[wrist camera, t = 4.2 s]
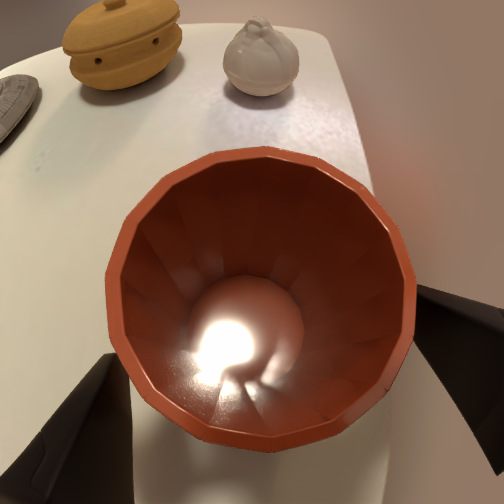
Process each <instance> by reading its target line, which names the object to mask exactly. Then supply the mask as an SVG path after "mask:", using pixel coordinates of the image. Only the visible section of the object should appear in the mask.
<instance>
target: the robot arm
mask: <svg viewBox="0 0 504 504" xmlns="http://www.w3.org/2000/svg"><path fill="white" fill-rule="evenodd" d="M413 341H414V342H415V344H416V346H417V347H418V349H419V350H420V352H421V353H422V355H423V356H424V357H425V359H426V360H427V362H428V363H429V365H430V366H431V368H432V369H433V371H434V372H435V374H436V375H437V377H438V378H439V380H440V381H441V383H442V384H443V385H444V387H445V388H446V390H447V392H448V393H449V395H450V396H451V398H452V400H453V401H454V403H455V404H456V406H457V407H458V409H459V411H460V412H461V414H462V416H463V417H464V419H465V421H466V422H467V424H468V425H469V427H470V429H471V431H472V432H473V433H474V436H475V438H476V439H477V441H478V443H479V445H480V446H481V448H482V450H483V452H484V454H485V456H486V457H487V459H488V461H489V463H490V465H491V467H492V469H493V471H494V472H495V474H496V475H497V476H498V475H499V474H501V473H502V472H503V471H504V309H501V308H497V307H494V306H491V305H487V304H484V303H481V302H477V301H474V300H470V299H467V298H463V297H460V296H457V295H453V294H450V293H446V292H443V291H440V290H436V289H433V288H429V287H426V286H422V285H418V284H417V292H416V318H415V333H414V337H413ZM132 430H133V426H132V409H131V397H130V382H129V375H128V374H127V372H126V370H125V368H124V366H123V365H122V363H121V361H120V359H119V357H118V355H117V354H116V353H108V354H104V355H103V356H102V357H101V358H100V359H99V360H98V361H97V363H96V364H95V365H94V366H93V367H92V368H91V370H90V371H89V372H88V373H87V374H86V375H85V377H84V378H83V379H82V380H81V381H80V382H79V384H78V385H77V386H76V387H75V388H74V390H73V391H72V392H71V393H70V394H69V396H68V397H67V398H66V399H65V400H64V402H63V403H62V404H61V405H60V406H59V408H58V409H57V410H56V411H55V413H54V414H53V415H52V416H51V418H50V419H49V420H48V421H47V423H46V424H45V425H44V426H43V428H42V429H41V432H39V433H38V434H37V435H36V436H35V438H34V439H33V440H32V441H31V443H30V444H29V445H28V446H27V447H26V449H25V450H24V451H23V452H22V453H21V455H20V456H19V457H18V458H17V459H16V460H15V461H14V462H13V463H12V465H11V466H10V467H9V468H8V469H7V470H6V471H5V472H4V473H3V474H2V475H1V476H0V504H135V502H134V486H133V455H132Z"/></svg>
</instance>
